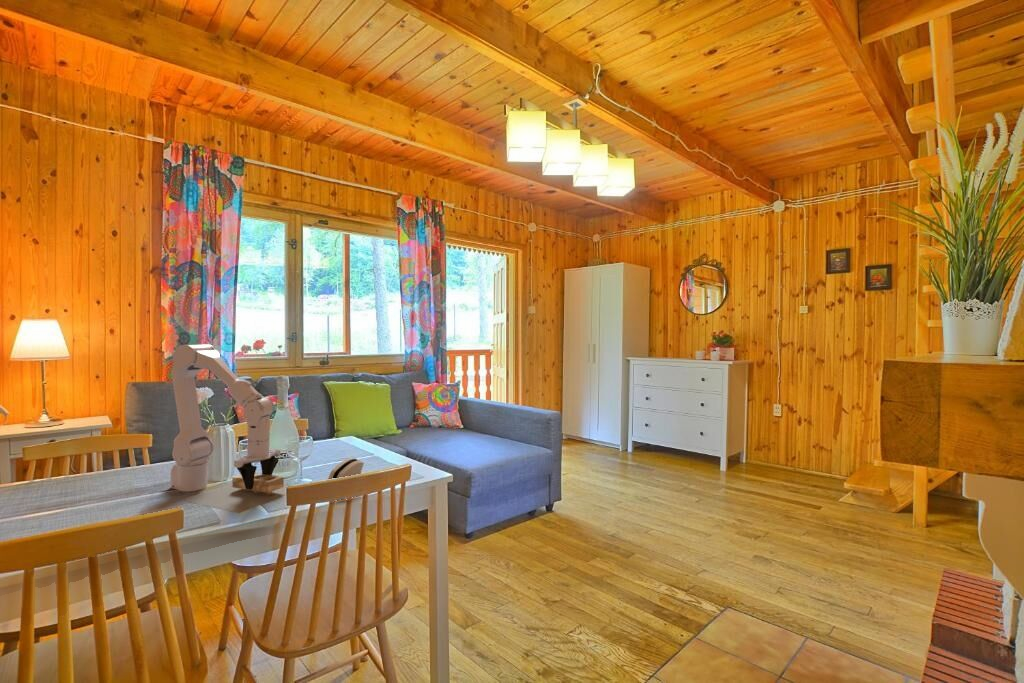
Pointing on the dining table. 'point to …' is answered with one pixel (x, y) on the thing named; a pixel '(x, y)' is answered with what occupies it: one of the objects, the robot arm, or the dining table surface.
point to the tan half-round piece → (347, 468)
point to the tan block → (260, 482)
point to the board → (234, 498)
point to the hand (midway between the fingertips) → (257, 485)
